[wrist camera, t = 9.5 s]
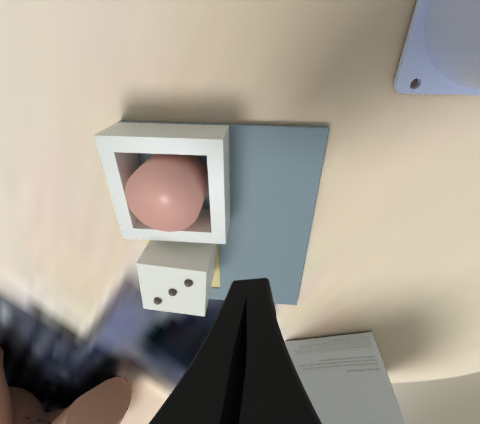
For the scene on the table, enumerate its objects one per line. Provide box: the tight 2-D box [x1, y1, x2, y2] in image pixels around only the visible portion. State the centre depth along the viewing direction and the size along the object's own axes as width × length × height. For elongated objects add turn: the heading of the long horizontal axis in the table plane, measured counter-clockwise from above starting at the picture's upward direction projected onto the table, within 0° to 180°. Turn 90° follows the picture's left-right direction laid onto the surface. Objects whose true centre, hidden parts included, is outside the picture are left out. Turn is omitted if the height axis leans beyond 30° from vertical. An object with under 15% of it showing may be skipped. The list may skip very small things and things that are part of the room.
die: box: [137, 240, 216, 316], centre depth 20 cm, size 4×4×5 cm
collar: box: [94, 122, 230, 244], centre depth 17 cm, size 7×7×3 cm
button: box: [125, 154, 209, 232], centre depth 17 cm, size 4×4×3 cm
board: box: [119, 121, 329, 305], centre depth 21 cm, size 13×16×1 cm
